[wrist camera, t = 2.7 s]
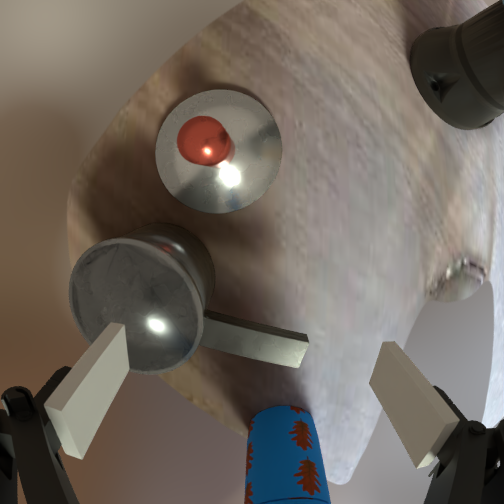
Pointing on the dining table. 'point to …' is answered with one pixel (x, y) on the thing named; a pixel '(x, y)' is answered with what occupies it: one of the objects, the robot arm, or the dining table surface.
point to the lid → (218, 151)
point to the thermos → (284, 459)
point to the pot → (166, 302)
